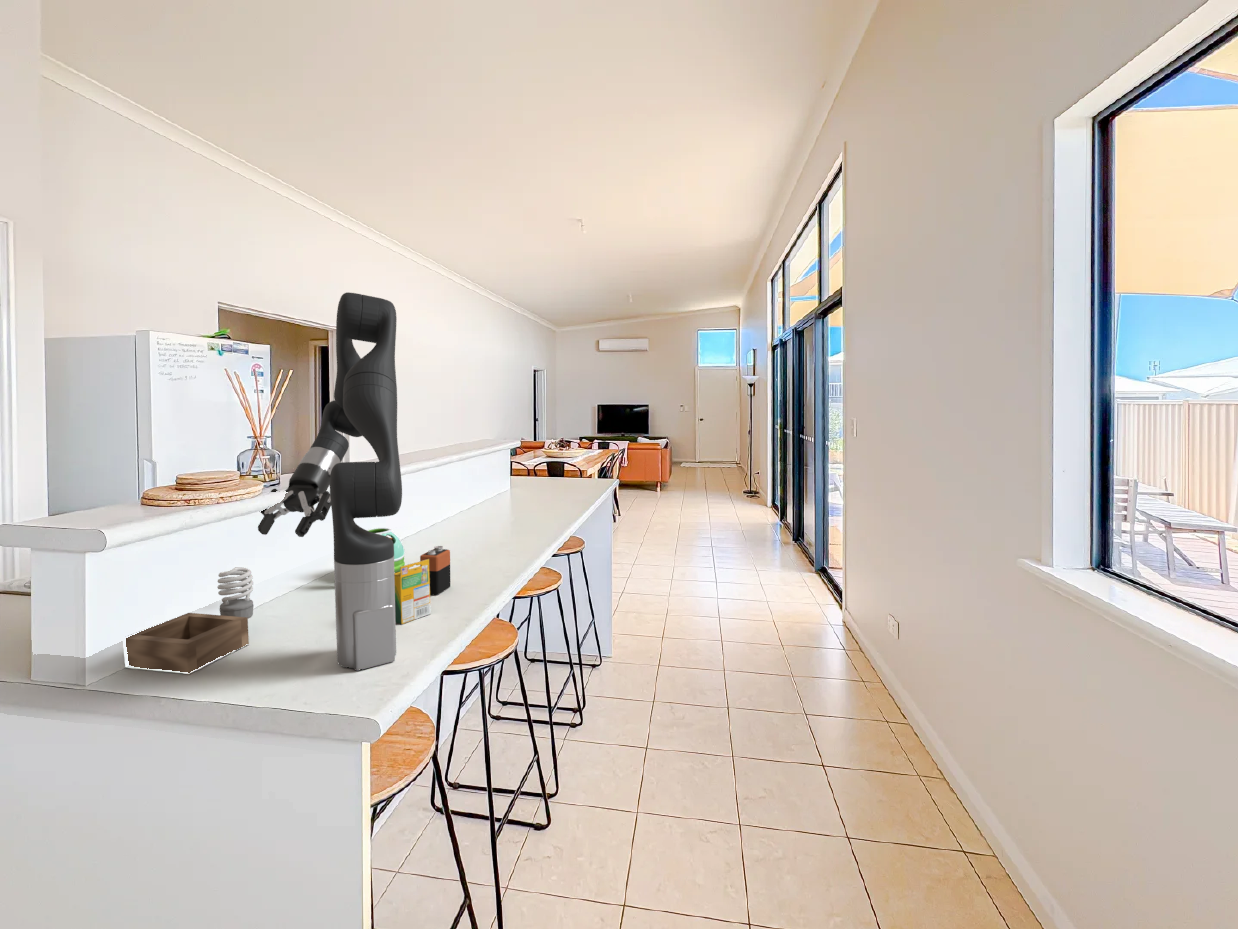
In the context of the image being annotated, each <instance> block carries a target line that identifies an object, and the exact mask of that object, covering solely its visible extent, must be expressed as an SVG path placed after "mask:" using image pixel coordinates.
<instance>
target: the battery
mask: <svg viewBox="0 0 1238 929" xmlns="http://www.w3.org/2000/svg"><path fill="white" fill-rule="evenodd" d="M427 559H429V578H430V596H438V595H440V594H441V593H443V592H445V591H446V590H448V589H449V588H451V550H449V549H446V548H445V549H444V546H443V545H437V546H436V545H435V546H434V547H433V549H431V550H428V551H427V552H425V553H423V554H421V555H420V556H419V562H420V561H423V560H427ZM419 566H421V565H419ZM444 590H445V591H444Z"/></svg>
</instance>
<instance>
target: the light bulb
mask: <svg viewBox="0 0 1238 929" xmlns="http://www.w3.org/2000/svg"><path fill="white" fill-rule="evenodd" d="M218 577H219V578H218V579H217V583H218V585H217V590H219V591H218V595H219V596H225V597H222V598H221V602H222V603H221V604H220V605H219V613H220V615H223V616H235V617H247V618H248V620H249V619H251V618H252V617H253V616H254V605H255V604H254V601H253V600H252V599H251V598H250V596H251V593H252V592H253V590H254V587H253V585H254V580H253V579H254V577H253V575H252V570H251V569H249V568H248V567H247V568H246V567H234V568H232V569H230V570H228V571H222V572H219V573H218ZM235 594H236V595H235ZM230 595H232V596H230ZM244 597H245V598H244Z"/></svg>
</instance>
